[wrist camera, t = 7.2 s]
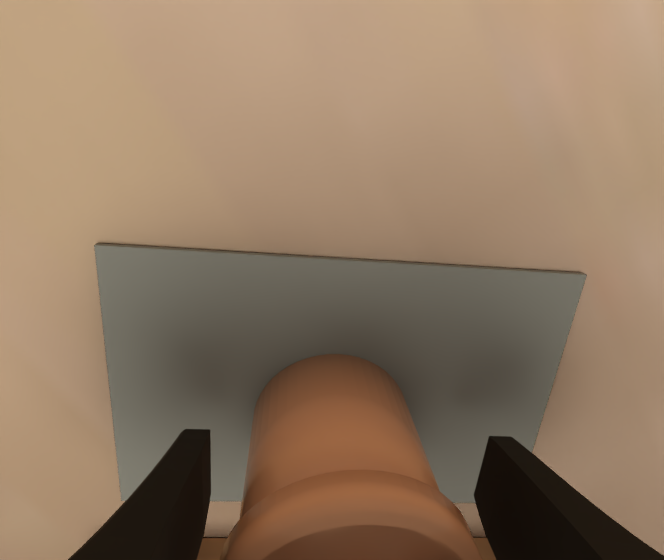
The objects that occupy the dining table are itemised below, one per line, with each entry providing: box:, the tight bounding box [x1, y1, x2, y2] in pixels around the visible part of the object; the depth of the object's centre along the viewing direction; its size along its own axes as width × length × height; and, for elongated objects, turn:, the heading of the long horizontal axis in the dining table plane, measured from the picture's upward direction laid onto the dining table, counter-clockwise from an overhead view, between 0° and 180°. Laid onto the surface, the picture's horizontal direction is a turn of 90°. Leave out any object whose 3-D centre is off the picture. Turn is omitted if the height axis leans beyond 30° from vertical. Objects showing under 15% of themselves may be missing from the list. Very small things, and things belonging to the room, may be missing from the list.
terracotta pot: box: [220, 354, 482, 560], centre depth 12 cm, size 6×6×6 cm
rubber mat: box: [94, 243, 587, 503], centre depth 14 cm, size 14×9×1 cm, turn 85°
